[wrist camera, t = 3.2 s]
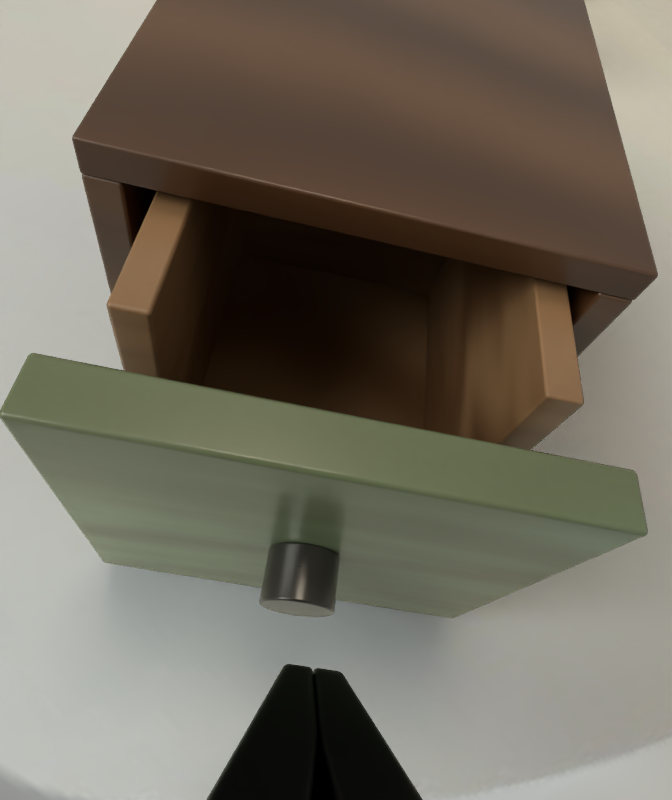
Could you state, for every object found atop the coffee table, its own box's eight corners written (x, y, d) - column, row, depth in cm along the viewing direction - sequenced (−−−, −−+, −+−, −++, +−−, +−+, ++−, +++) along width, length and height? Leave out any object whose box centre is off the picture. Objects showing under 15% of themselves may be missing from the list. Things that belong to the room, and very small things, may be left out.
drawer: (453, 662, 16) (666, 611, 8) (87, 607, 15) (-46, 492, 7) (453, 306, 23) (568, 107, 15) (207, 251, 22) (202, 9, 14)
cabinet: (460, 475, 20) (659, 276, 11) (140, 415, 19) (69, 136, 10) (458, 224, 27) (579, -22, 18) (226, 169, 26) (231, -123, 17)
